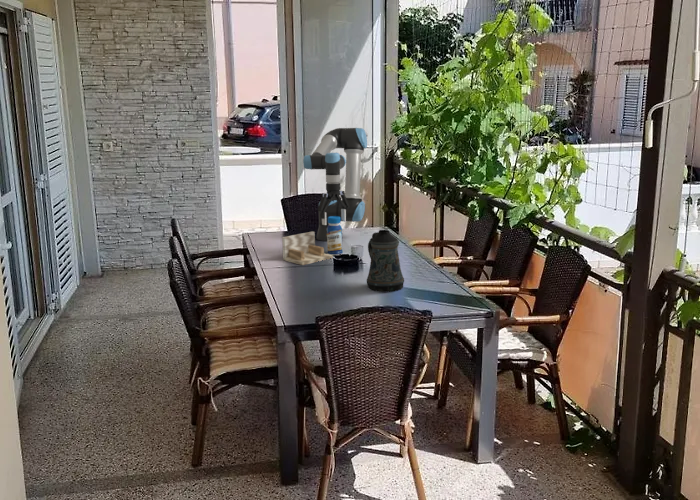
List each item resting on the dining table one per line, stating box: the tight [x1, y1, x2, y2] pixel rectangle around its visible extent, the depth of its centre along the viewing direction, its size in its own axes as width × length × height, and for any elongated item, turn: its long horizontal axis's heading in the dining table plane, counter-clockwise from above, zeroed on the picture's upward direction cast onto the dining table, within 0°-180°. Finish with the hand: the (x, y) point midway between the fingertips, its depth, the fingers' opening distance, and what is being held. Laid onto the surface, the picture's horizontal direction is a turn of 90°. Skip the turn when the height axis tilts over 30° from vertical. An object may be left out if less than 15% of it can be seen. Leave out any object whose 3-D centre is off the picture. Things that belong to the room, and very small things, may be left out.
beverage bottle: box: [326, 216, 344, 256], centre depth 362 cm, size 8×8×20 cm
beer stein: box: [366, 229, 405, 293], centre depth 299 cm, size 16×19×25 cm
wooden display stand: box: [281, 231, 333, 266], centre depth 353 cm, size 20×16×12 cm
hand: (334, 223), depth 360 cm, fingers open, 13 cm apart
